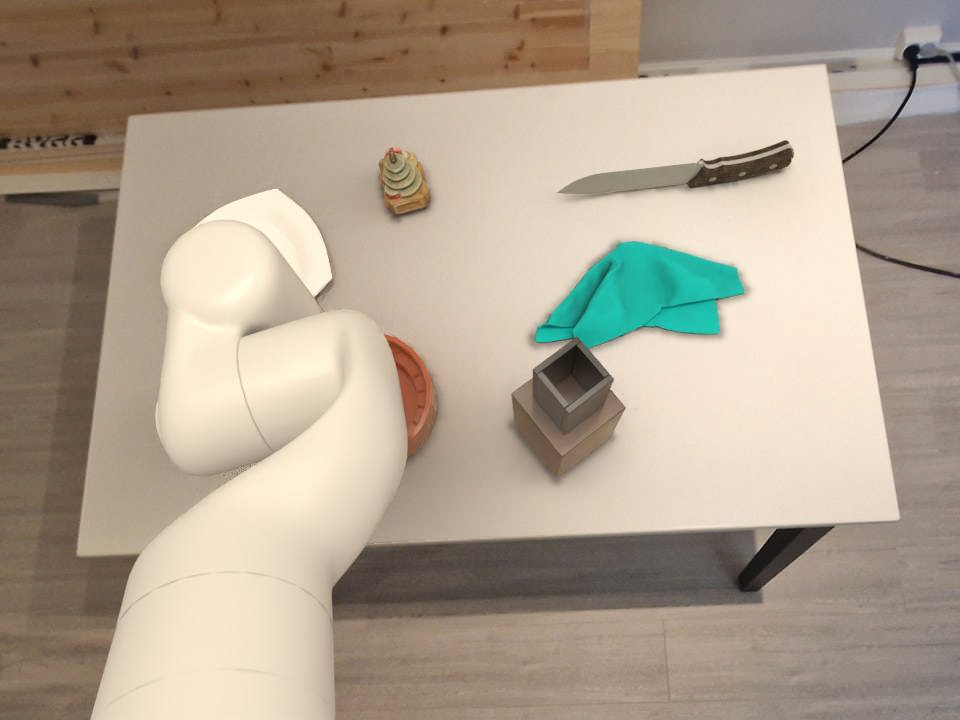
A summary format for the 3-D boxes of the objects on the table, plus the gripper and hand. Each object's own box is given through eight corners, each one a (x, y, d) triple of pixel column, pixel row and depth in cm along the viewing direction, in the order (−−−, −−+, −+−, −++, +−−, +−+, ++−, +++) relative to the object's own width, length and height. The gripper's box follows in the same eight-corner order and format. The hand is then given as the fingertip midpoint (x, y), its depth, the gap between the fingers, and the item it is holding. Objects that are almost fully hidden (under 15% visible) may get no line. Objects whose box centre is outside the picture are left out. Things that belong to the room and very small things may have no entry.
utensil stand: (611, 436, 82) (639, 381, 60) (557, 478, 81) (566, 438, 59) (567, 384, 84) (579, 313, 62) (514, 424, 83) (507, 366, 61)
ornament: (375, 174, 95) (358, 128, 86) (418, 159, 95) (406, 112, 86) (392, 223, 93) (376, 181, 83) (437, 208, 93) (426, 164, 83)
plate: (160, 252, 94) (152, 245, 92) (286, 179, 96) (281, 171, 94) (222, 366, 88) (215, 362, 86) (355, 286, 90) (351, 280, 88)
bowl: (462, 418, 84) (457, 407, 79) (357, 496, 82) (345, 490, 77) (390, 324, 88) (381, 307, 83) (289, 396, 86) (273, 384, 81)
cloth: (731, 232, 89) (736, 223, 87) (753, 334, 84) (759, 327, 82) (525, 254, 90) (524, 246, 88) (536, 356, 86) (536, 350, 83)
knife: (798, 135, 87) (559, 161, 85) (804, 152, 86) (563, 179, 85) (778, 163, 93) (553, 188, 91) (783, 179, 92) (557, 205, 90)
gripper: (188, 289, 55) (271, 361, 73) (294, 446, 51) (355, 483, 68) (268, 235, 56) (331, 319, 74) (379, 384, 52) (417, 436, 69)
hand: (342, 397), depth 71 cm, fingers closed
